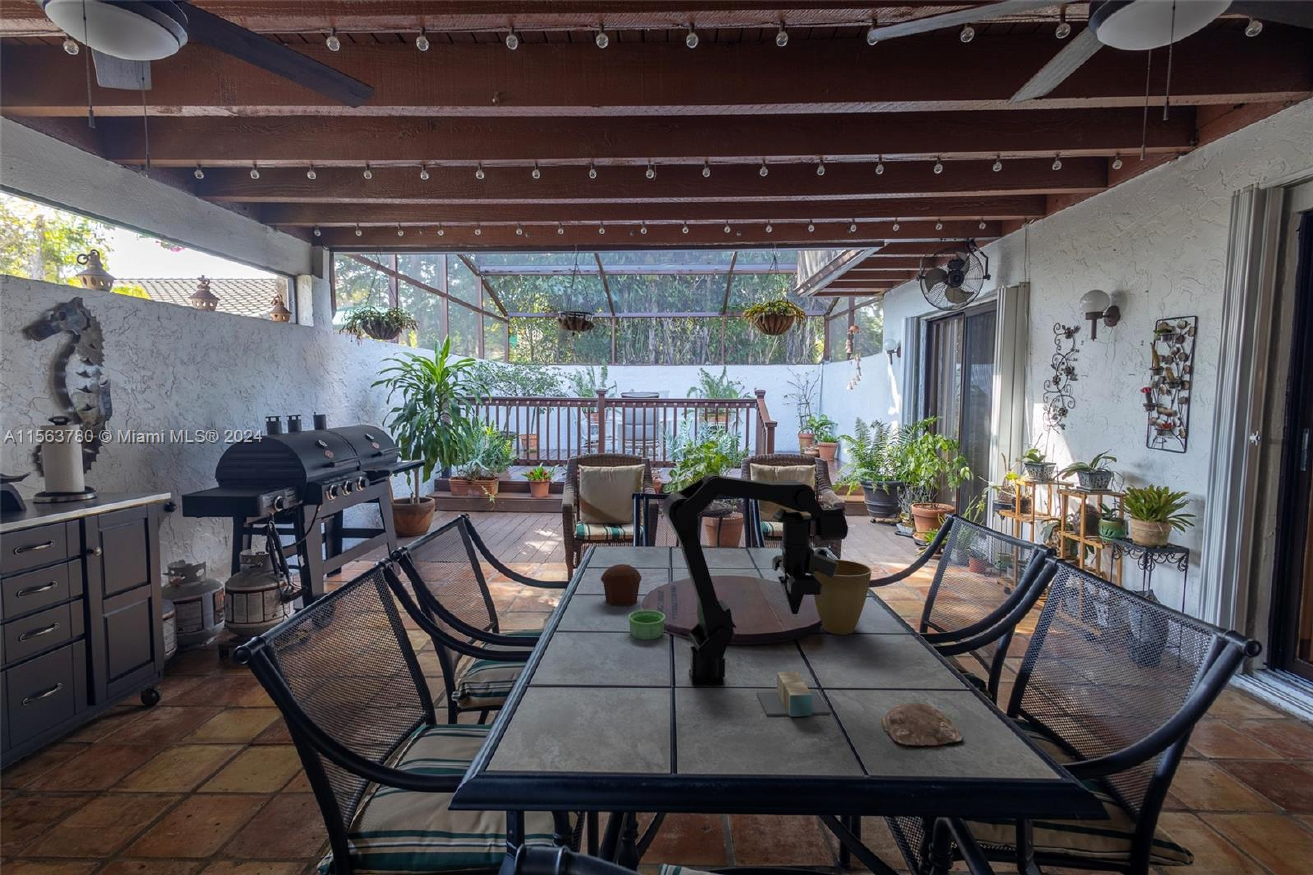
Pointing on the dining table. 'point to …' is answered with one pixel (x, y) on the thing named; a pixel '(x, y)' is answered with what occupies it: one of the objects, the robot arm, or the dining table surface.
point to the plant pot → (842, 596)
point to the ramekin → (646, 624)
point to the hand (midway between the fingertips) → (794, 613)
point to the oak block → (794, 694)
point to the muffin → (621, 585)
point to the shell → (920, 727)
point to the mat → (776, 707)
